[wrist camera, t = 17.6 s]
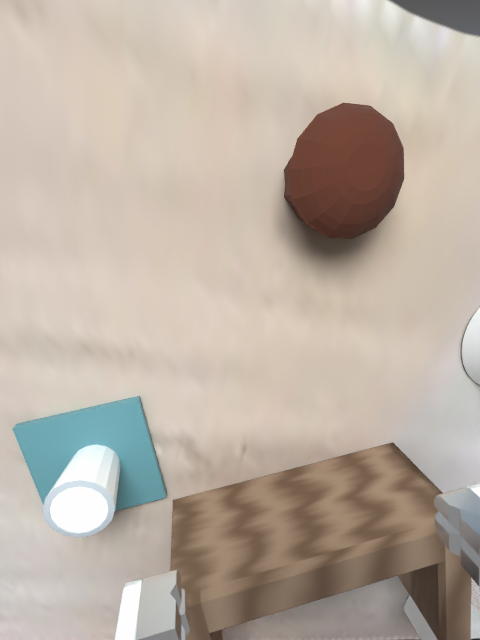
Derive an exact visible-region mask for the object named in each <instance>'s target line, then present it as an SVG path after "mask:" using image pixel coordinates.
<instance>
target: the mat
mask: <svg viewBox="0 0 480 640" xmlns="http://www.w3.org/2000/svg"><path fill="white" fill-rule="evenodd" d="M13 431H14V433H15V436H16V438H17V441H18V443H19V446H20V448H21V451H22V453H23V456H24V458H25V461H26V463H27V465H28V468H29V470H30V473H31V475H32V478H33V480H34V483H35V485H36V488H37V490H38V493H39V495H40V498H41V500H42V502H43V505H44V502H45V498H46V497H47V495H48V494H49V492H50V491H51V489H52V488H53V486H54V485H55V483H56V482H57V480H58V479H59V477H60V476H61V474H62V473H63V471H64V470H65V468H66V467H67V465H68V464H69V462H70V461H71V459H72V458H73V456H74V455H75V454H76V453H77V452H78V450H80V449H82V448H84V447H86V446H90V445H102V446H107V447H108V448H110V449H112V450H113V451H115V453H116V454H117V455H118V457H119V459H120V465H121V467H120V475H119V483H118V491H117V499H116V507H115V511H117V510H121V509H125V508H128V507H132V506H136V505H140V504H144V503H148V502H151V501H155V500H159V499H163V498H166V494H167V491H166V488H165V484H164V481H163V477H162V474H161V470H160V467H159V463H158V459H157V456H156V452H155V449H154V445H153V442H152V438H151V435H150V431H149V428H148V424H147V420H146V417H145V413H144V410H143V406H142V403H141V399H140V396H137V397H133V398H128V399H124V400H120V401H115V402H111V403H106V404H102V405H98V406H93V407H89V408H85V409H80V410H76V411H71V412H67V413H63V414H58V415H54V416H50V417H45V418H41V419H37V420H32V421H28V422H23V423H19V424H16V425H15V427H14V428H13Z"/></svg>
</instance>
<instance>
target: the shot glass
mask: <svg viewBox="0 0 480 640" xmlns="http://www.w3.org/2000/svg"><path fill="white" fill-rule="evenodd" d="M120 467H121V465H120V459H119V457H118V455H117V454H116V453H115V451H113V450H112V449H110V448H108V447H107V446H102V445H90V446H86V447H84V448H82V449H80V450H78V452H77V453H76V454H75V455H74V456H73V458H72V459H71V461H70V462H69V464H68V465H67V467H66V468H65V470H64V471H63V473H62V474H61V476H60V477H59V479H58V480H57V482H56V483H55V485H54V486H53V488H52V489H51V491H50V492H49V494H48V495H47V497H46V498H45V502H44V506H43V514H44V518H45V521H46V522H47V523H48V525H49V526H50V527H51V528H52V529H53V530H54V531H56V532H58V533H60V534H62V535H64V536H70V537H78V538H79V537H85V536H91V535H94V534H96V533H97V532H99V531H101V530H103V529H104V528H105V527H106V526H107V525H108V524H109V523H110V522H111V520H112V518H113V515H114V511H115V507H116V499H117V491H118V483H119V475H120Z"/></svg>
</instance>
